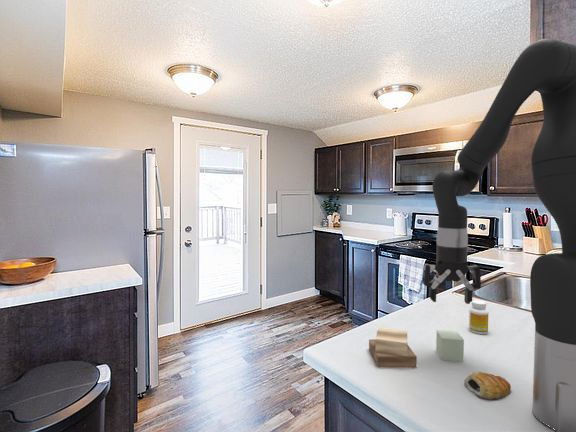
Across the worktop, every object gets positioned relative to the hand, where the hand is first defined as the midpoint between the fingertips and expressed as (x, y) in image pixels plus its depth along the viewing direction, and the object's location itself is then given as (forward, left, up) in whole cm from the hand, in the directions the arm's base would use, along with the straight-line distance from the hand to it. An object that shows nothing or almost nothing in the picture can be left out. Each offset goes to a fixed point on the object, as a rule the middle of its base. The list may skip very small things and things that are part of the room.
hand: (450, 302), depth 89 cm
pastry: (-16, -4, -16) cm, 22 cm away
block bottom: (-4, +16, -16) cm, 23 cm away
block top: (-4, +16, -12) cm, 20 cm away
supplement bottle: (+19, -14, -15) cm, 28 cm away
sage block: (0, 0, -15) cm, 15 cm away
